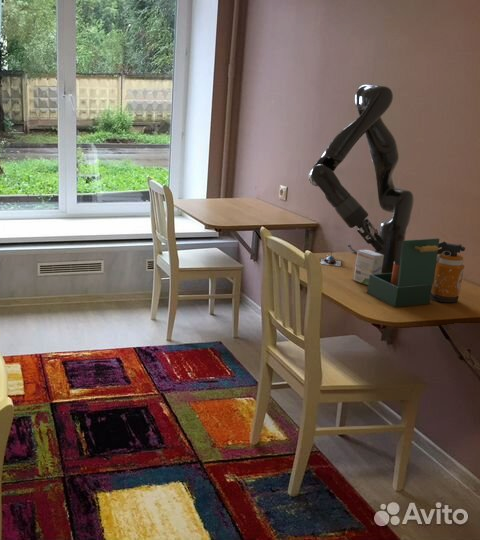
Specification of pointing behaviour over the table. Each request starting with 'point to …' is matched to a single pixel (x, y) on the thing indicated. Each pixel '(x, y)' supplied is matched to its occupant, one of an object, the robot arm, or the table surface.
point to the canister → (448, 273)
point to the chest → (398, 291)
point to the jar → (395, 272)
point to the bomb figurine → (330, 261)
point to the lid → (418, 262)
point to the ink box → (367, 265)
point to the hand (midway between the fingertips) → (381, 247)
